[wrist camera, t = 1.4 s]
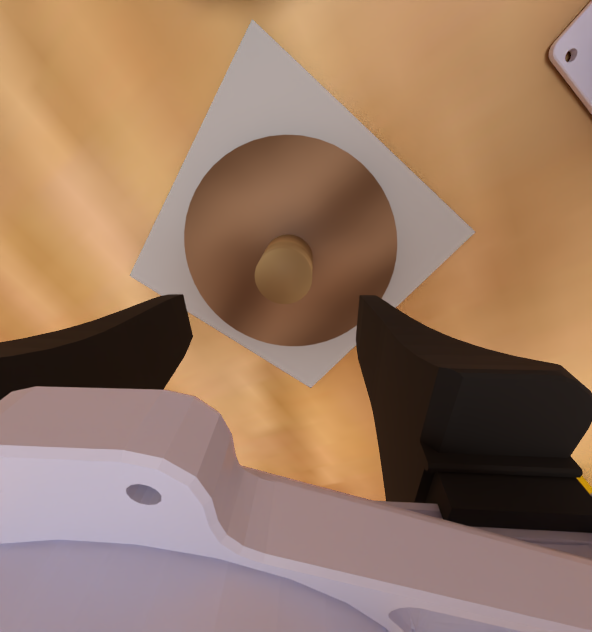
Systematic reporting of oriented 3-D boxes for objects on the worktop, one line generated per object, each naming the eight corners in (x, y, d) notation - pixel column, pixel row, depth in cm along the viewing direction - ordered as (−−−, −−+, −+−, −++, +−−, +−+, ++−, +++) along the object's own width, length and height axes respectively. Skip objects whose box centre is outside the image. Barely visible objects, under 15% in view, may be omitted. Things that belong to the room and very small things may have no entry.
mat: (472, 230, 19) (475, 231, 18) (310, 384, 26) (310, 388, 25) (253, 22, 15) (252, 18, 14) (132, 273, 22) (129, 275, 21)
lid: (440, 236, 19) (473, 255, 15) (307, 368, 24) (306, 408, 20) (260, 73, 15) (241, 43, 11) (156, 272, 21) (120, 297, 17)
